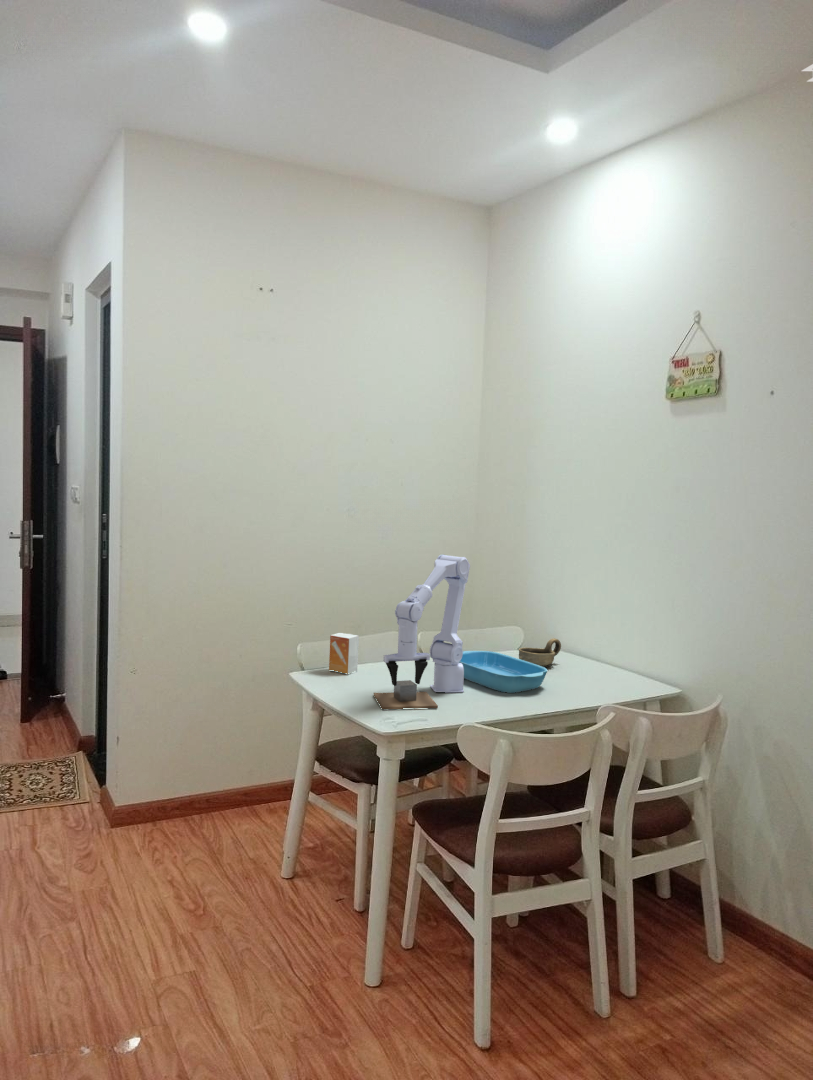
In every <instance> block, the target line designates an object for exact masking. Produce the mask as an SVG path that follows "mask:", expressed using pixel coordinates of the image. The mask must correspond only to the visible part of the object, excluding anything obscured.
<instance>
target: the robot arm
mask: <svg viewBox="0 0 813 1080" xmlns="http://www.w3.org/2000/svg"><path fill="white" fill-rule="evenodd" d="M433 565H434V566H433V569H432V571H431V572H430V574H429V575H428V577H427V578H426V580H425V581H424V582H423V584H417V585H416V586H415V588H414V589H413V591H412V592H411V593H410V594H409V595H408V597H407V598H406V599H405V600H402V601H400V602H398V603H397V605H396V608H395V610H394V615H395V617H396V624H397V625H398V631H397V632H398V633H397V634H398V636H397V637H398V638H397V652H396V653H391V654H384V655H383V661H382V662H384V663H385V665H386V667H387V669H388V672H389V675H390V679H391V685H392V686H393V687H394V686H396V685H397V681H398V669H399V664H397V663H398V662H410V661H412V662H414V667H415V668H414V669H415V672H414V674H415V675H414V683H415V684H417V685H420V683H421V679H422V677H423V674H424V673H425V672H424V671H425V670H426V669H427V667H428V664H429V662H428V661H430V659H432V662H433V663H434V668H433V669H434V671H433V684H430V685H429V687H430V688H431V689H432V690H433V692H435V693H436V692H445V693H464V681H465V680H464V668H463V665H462V663H459V662H460V660H461V659H462V656H463V651H464V650H463V644H464V641H462V639H461V638H460V637H459V635H458V630H459V625H460V619H461V612H462V607H463V602H464V597H465V596H464V595H465V590H466V584H467V583H468V581H469V574H470V570H471V564H470V562H469V560H468V559H467V557H466V556H456V555H446V554H441V553H440V555H438V556H437V557H436V559H435V560H434V563H433ZM444 580H445V581H446V582H447V584H448V590H447V596H446V601H445V606H444V612H443V617H442V623H441V629H440V631H439V633H437V634H436V635H434V636H433V640H432V643H431V644H430V647H429V653H428V652H417V647H418V646H417V645H418V644H417V643H418V641H417V640H418V622H419V620H420V619H421V618H422V615H423V611H424V609H425V608H424V607H425V606H426V605H427V604H428V603H429V602H430V600H431V599H432V598H433V591H434V590H435V589H436V588H437V586H438V585H439V584H440V583H442V581H444Z"/></svg>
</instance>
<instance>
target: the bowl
mask: <svg viewBox="0 0 813 1080" xmlns="http://www.w3.org/2000/svg"><path fill="white" fill-rule="evenodd" d="M554 643H555V645H554ZM553 645H554V648H553V649H552V647H553ZM561 647H562V643H561V641H560V640H559V639H558V638H554V637H553V638H550V639H548V641H547V643H546V645H545V647H543V648H542V647H541V648H540V647H539V648H538V647H519V648H518V659H521V660H524V661H527V662H530V663H533V664H536V665H539V666H542V667H547V666H549V665H551V664H552V663H554V661H555V657H556V656H557V655H559V653H560V651H561V649H562V648H561Z"/></svg>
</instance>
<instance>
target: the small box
mask: <svg viewBox="0 0 813 1080" xmlns="http://www.w3.org/2000/svg"><path fill="white" fill-rule="evenodd" d="M359 636H360V635H357V634H352V633H345V632H337V633H334V634H333V633H332V634H330V638H329V639H330V640H329V658H328V659H329V660H328V671H329V670H334V671H338V672H342V673H347V674H348V673H352V672H354V671H357V672H358V664H359V662H358V661H359V640H360V639H359V638H360V637H359ZM352 674H353V673H352Z"/></svg>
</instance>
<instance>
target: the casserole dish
mask: <svg viewBox="0 0 813 1080" xmlns="http://www.w3.org/2000/svg"><path fill="white" fill-rule="evenodd" d="M459 663H462V665H463V668H464V679H465V680H467V681H470V682H473V683H475V684H478V685H480V686H481V687H485V688H488V689H491V690H495V691H498V692H500V691H501V692H502V693H505V692H507V693H506V694H514V693H515V692H516V693H520V692H521V691H522V692H527V691H532V690H536V689H538V688H539V687H540V686H541V685H542V684H543V682H544V680H545V678H546V676H547V673H548V669H547V668H546V667H545V666H539V665H536V664H533V663H530V662H527V661H524V660H521V659H519V658H517V657H513V656H511V655H507V654H503V653H501V652H498V651H497V652H496V651H490V650H489V651H488V650H463V656H462V659H461V660H460V662H459ZM535 688H536V689H535ZM531 689H532V690H531ZM501 692H500V693H501ZM522 692H521V693H522Z"/></svg>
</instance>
